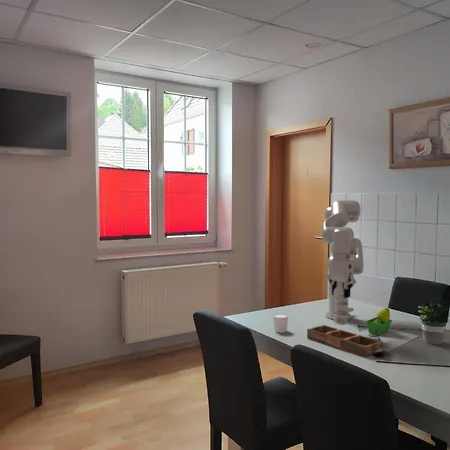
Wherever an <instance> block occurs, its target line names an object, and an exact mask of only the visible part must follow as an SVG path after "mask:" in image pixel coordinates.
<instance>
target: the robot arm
mask: <svg viewBox="0 0 450 450" xmlns="http://www.w3.org/2000/svg"><path fill="white" fill-rule="evenodd" d="M361 211H362V209H361V204H360V203H359V202H358V201H357V200H353V199H351V200H349V199H347V200H344V199H342V200H339V199H338V200H335V201H334V202H332V204H331V205H330V207H327V208H326V209H325V212H324V217H325V218H324V219H325V220H324V221H323V223H322V226H321V238H322V241H323V242H324V243H326V244H330V245H329V246H330V247H329V248H330V253H331V254H332V255H331V256H329V257H328V258H327V269H328V270H327V271H328V275H327V276H326V278H327V280H328V281H329V282H328V312H326V314H325V317H326V318H327V319H330V320H333V316H334V310H335V300H334V289H335V288H336V287H337V281H339V282H343V283H344V284H345V287H346V289H345V295H344V297H345V298H348V300H347V314H348V320H350V319H352V315H351V314H350V312H354V310H355V309H354V307H349V298H350V297H351V289H352V288H353V287H354V285H355V284H356V283H357V280H356V279H355V278H354V276H355V275H356V276H357V275H361V274H363V271H364V268H365V267H364V254H363V252H364V250H363V244H362V241H361V240H360V239H359V238H356V237H355V235H354V233H355V232H354V231H353V229H352V228H351V227H348V224H349V223H357V222H358V221H359V218H360V217H361V216H360V215H361Z"/></svg>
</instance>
